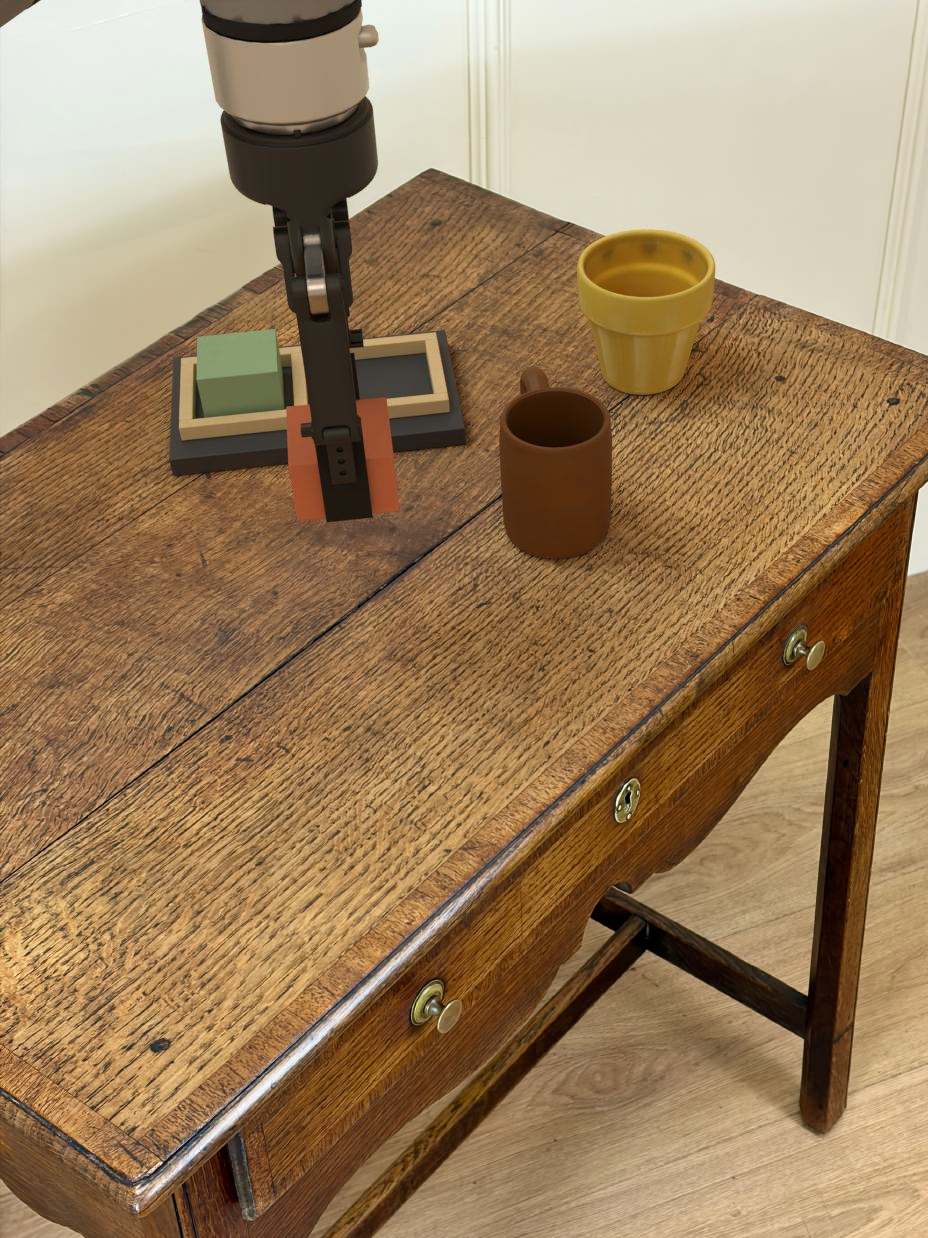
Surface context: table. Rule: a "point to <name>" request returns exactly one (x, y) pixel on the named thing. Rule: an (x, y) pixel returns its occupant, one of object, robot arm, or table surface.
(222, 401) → the green block
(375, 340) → the backing plate
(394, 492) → the terracotta cube
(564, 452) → the mug
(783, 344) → the table surface
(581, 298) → the flower pot
